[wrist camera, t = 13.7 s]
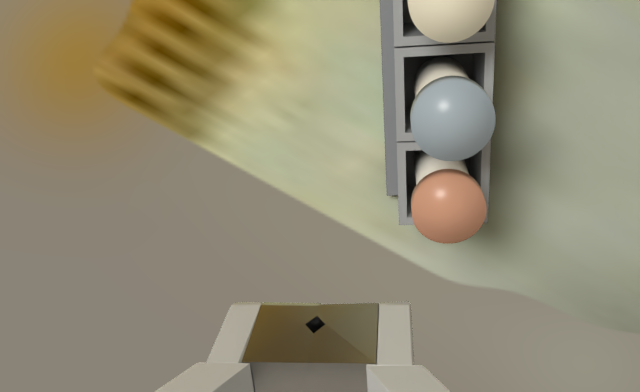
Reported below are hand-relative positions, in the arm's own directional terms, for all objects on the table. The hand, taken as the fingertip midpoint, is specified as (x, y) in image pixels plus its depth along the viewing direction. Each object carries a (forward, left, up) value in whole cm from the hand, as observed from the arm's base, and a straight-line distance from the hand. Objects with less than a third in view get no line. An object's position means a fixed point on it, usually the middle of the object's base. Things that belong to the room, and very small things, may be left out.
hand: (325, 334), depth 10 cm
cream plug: (-4, -3, -29) cm, 30 cm away
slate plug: (-4, +2, -28) cm, 28 cm away
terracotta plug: (-4, +8, -29) cm, 31 cm away
